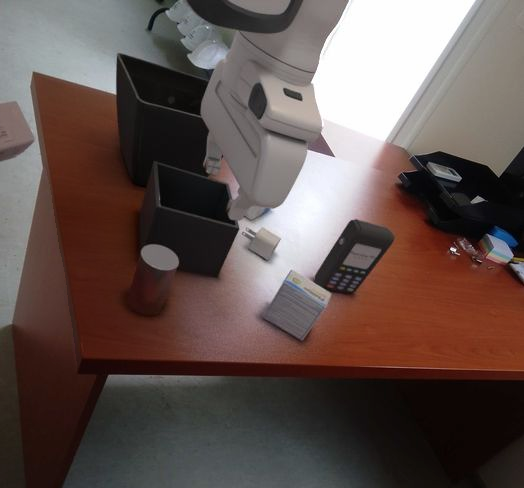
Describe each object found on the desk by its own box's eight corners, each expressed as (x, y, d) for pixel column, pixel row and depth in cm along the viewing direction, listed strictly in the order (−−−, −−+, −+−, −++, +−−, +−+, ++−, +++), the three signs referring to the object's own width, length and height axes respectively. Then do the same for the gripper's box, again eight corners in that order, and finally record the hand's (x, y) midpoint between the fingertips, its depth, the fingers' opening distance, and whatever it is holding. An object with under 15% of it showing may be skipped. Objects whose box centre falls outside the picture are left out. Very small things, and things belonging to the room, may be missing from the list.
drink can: (126, 312, 65) (141, 265, 59) (127, 287, 68) (140, 240, 62) (163, 318, 67) (180, 273, 61) (161, 294, 70) (177, 248, 64)
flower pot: (100, 136, 93) (116, 48, 82) (187, 155, 103) (211, 79, 92) (118, 192, 83) (139, 100, 72) (212, 206, 93) (242, 128, 82)
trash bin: (140, 261, 73) (156, 206, 66) (139, 213, 81) (153, 160, 74) (217, 277, 79) (239, 228, 72) (209, 231, 87) (228, 183, 80)
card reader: (316, 291, 89) (358, 229, 79) (310, 277, 91) (350, 215, 81) (354, 297, 93) (398, 239, 83) (347, 284, 96) (389, 226, 86)
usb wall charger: (267, 261, 88) (275, 245, 86) (236, 242, 88) (244, 226, 86) (273, 253, 91) (281, 237, 89) (243, 234, 91) (251, 218, 89)
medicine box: (308, 328, 80) (333, 293, 74) (301, 342, 77) (327, 307, 71) (269, 304, 80) (291, 267, 74) (261, 318, 77) (283, 280, 71)
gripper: (210, 27, 51) (175, 142, 60) (276, 120, 40) (222, 242, 50) (258, 46, 55) (218, 152, 64) (331, 136, 44) (271, 248, 53)
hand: (220, 192), depth 56 cm, fingers open, 8 cm apart
